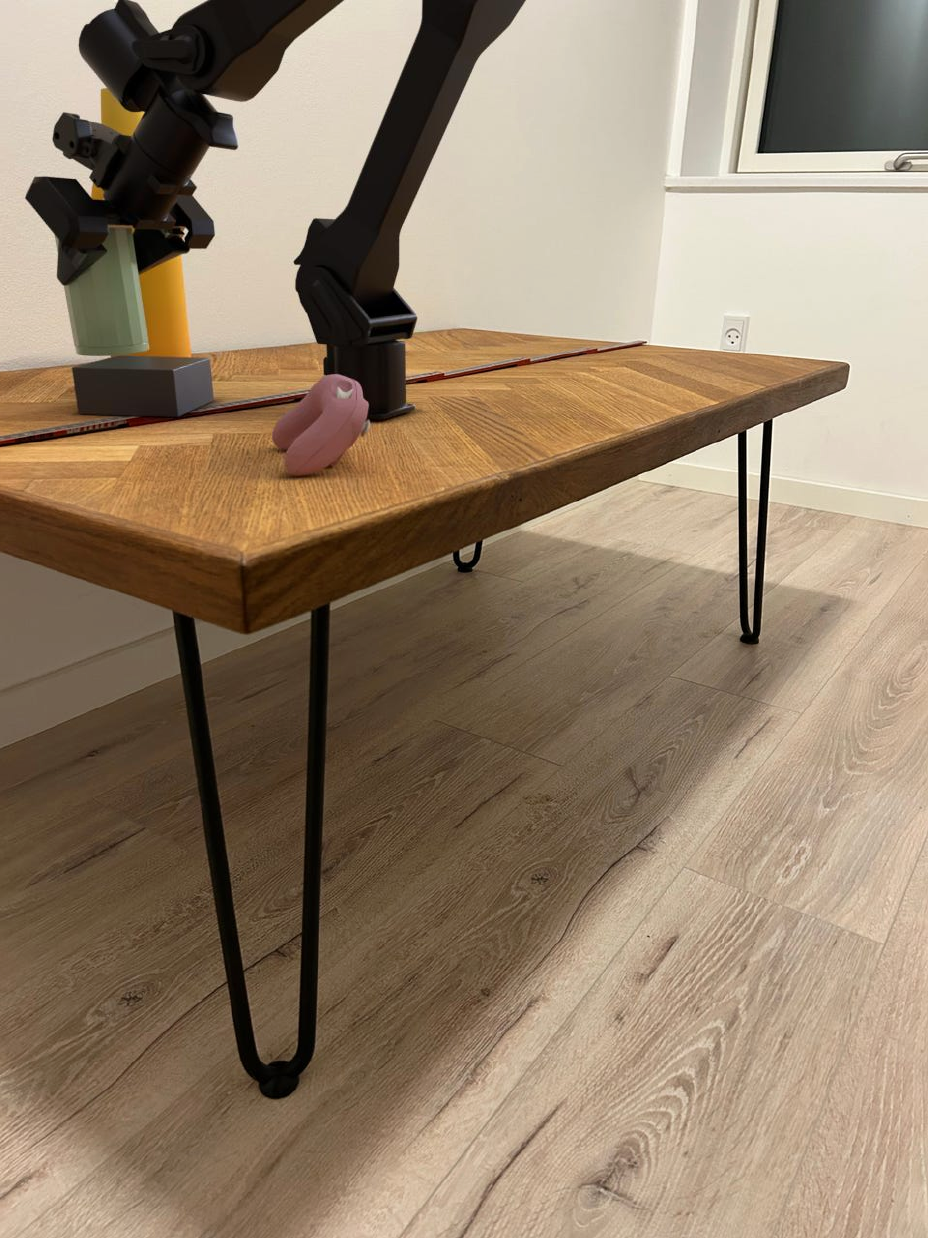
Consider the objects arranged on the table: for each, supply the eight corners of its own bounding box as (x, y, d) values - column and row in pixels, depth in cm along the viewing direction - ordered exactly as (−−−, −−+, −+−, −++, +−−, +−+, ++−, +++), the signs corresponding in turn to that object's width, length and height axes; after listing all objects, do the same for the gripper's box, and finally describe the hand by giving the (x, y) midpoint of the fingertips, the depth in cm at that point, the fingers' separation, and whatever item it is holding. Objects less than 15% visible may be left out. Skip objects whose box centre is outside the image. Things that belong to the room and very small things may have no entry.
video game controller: (344, 498, 60) (389, 401, 59) (280, 471, 58) (325, 369, 57) (322, 465, 69) (361, 380, 68) (266, 441, 67) (304, 352, 66)
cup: (164, 348, 94) (144, 209, 88) (112, 357, 88) (88, 209, 83) (113, 345, 96) (92, 210, 91) (60, 353, 91) (34, 210, 85)
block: (214, 400, 87) (210, 357, 86) (178, 417, 79) (173, 369, 77) (123, 398, 88) (117, 355, 86) (78, 414, 80) (71, 367, 78)
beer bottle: (95, 367, 108) (56, 87, 97) (157, 360, 115) (127, 98, 104) (147, 374, 104) (113, 81, 93) (208, 365, 111) (183, 93, 100)
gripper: (179, 97, 89) (110, 220, 98) (21, 65, 74) (-45, 214, 82) (251, 184, 89) (176, 300, 98) (107, 171, 74) (32, 309, 82)
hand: (91, 280), depth 90 cm, fingers closed on cup, 7 cm apart
